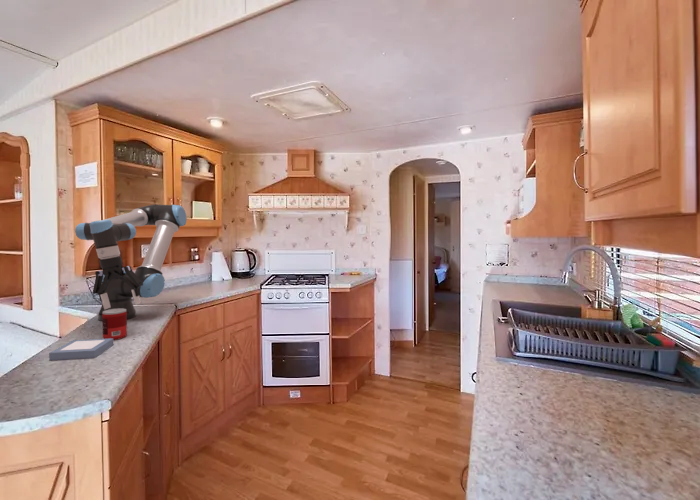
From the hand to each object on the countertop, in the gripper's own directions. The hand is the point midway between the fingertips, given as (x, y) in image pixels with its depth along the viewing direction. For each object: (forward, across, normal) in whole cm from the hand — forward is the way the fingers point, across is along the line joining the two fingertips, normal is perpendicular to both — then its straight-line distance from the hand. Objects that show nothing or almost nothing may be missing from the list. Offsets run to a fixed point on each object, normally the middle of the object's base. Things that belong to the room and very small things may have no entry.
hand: (122, 306), depth 137 cm
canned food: (+11, 0, -8) cm, 14 cm away
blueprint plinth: (+9, +1, -24) cm, 26 cm away
